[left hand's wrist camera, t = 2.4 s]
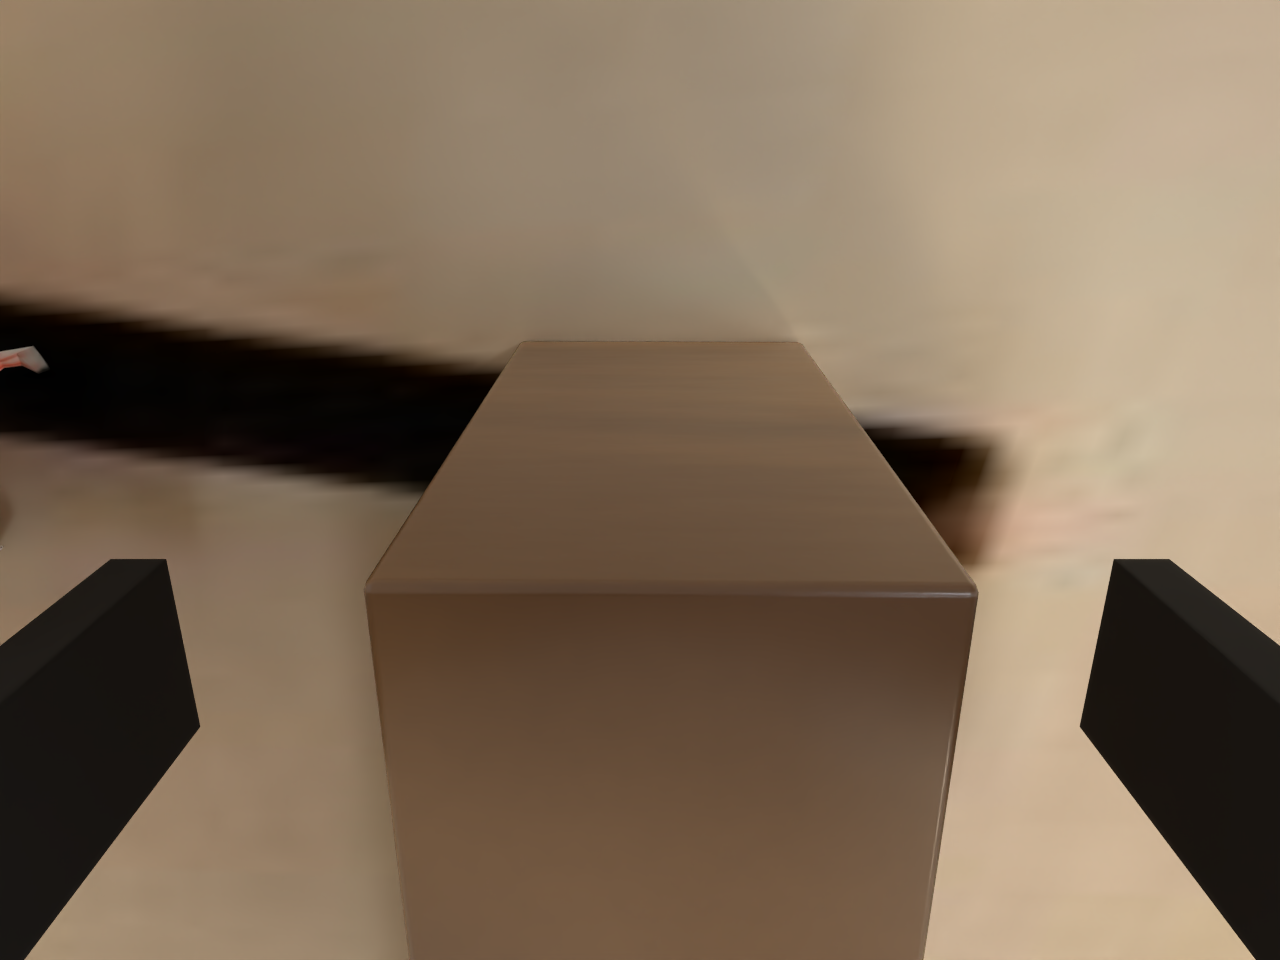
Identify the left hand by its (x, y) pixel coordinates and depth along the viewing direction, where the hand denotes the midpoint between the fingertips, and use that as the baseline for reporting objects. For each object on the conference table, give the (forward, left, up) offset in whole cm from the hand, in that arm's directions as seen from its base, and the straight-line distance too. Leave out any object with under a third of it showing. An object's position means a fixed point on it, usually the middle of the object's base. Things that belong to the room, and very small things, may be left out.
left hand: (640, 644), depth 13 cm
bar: (+5, +6, -4) cm, 8 cm away
